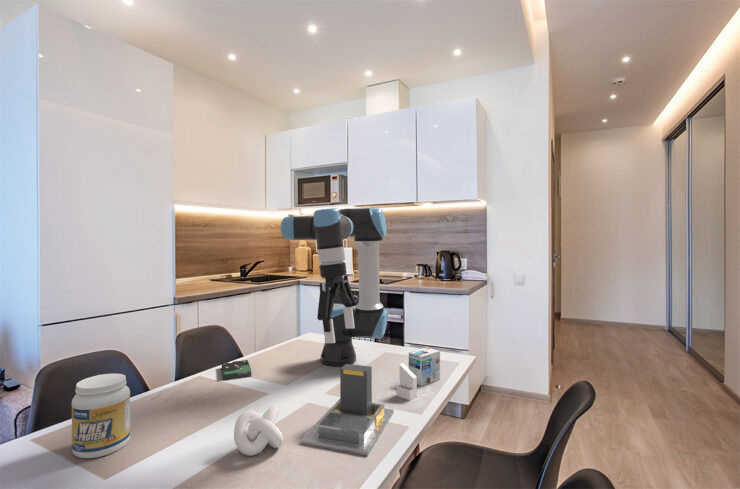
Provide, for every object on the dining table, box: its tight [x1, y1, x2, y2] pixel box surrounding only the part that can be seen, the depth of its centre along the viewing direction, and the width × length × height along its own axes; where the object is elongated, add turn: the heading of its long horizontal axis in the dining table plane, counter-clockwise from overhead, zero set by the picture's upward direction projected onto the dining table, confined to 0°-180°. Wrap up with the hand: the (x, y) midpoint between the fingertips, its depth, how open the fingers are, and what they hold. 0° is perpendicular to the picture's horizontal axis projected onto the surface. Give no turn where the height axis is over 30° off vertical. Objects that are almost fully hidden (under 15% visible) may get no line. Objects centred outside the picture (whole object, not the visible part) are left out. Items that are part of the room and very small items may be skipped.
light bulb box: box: [408, 346, 441, 387], centre depth 141 cm, size 11×7×11 cm, turn 131°
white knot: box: [233, 406, 284, 457], centre depth 97 cm, size 11×12×9 cm
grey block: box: [339, 363, 373, 416], centre depth 111 cm, size 4×8×14 cm, turn 72°
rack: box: [300, 398, 395, 457], centre depth 107 cm, size 24×18×4 cm
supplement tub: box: [70, 372, 131, 459], centre depth 97 cm, size 12×12×17 cm
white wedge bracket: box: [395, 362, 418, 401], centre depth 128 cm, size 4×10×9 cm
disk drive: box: [221, 359, 252, 381], centre depth 151 cm, size 10×3×15 cm
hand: (340, 335), depth 112 cm, fingers open, 13 cm apart
